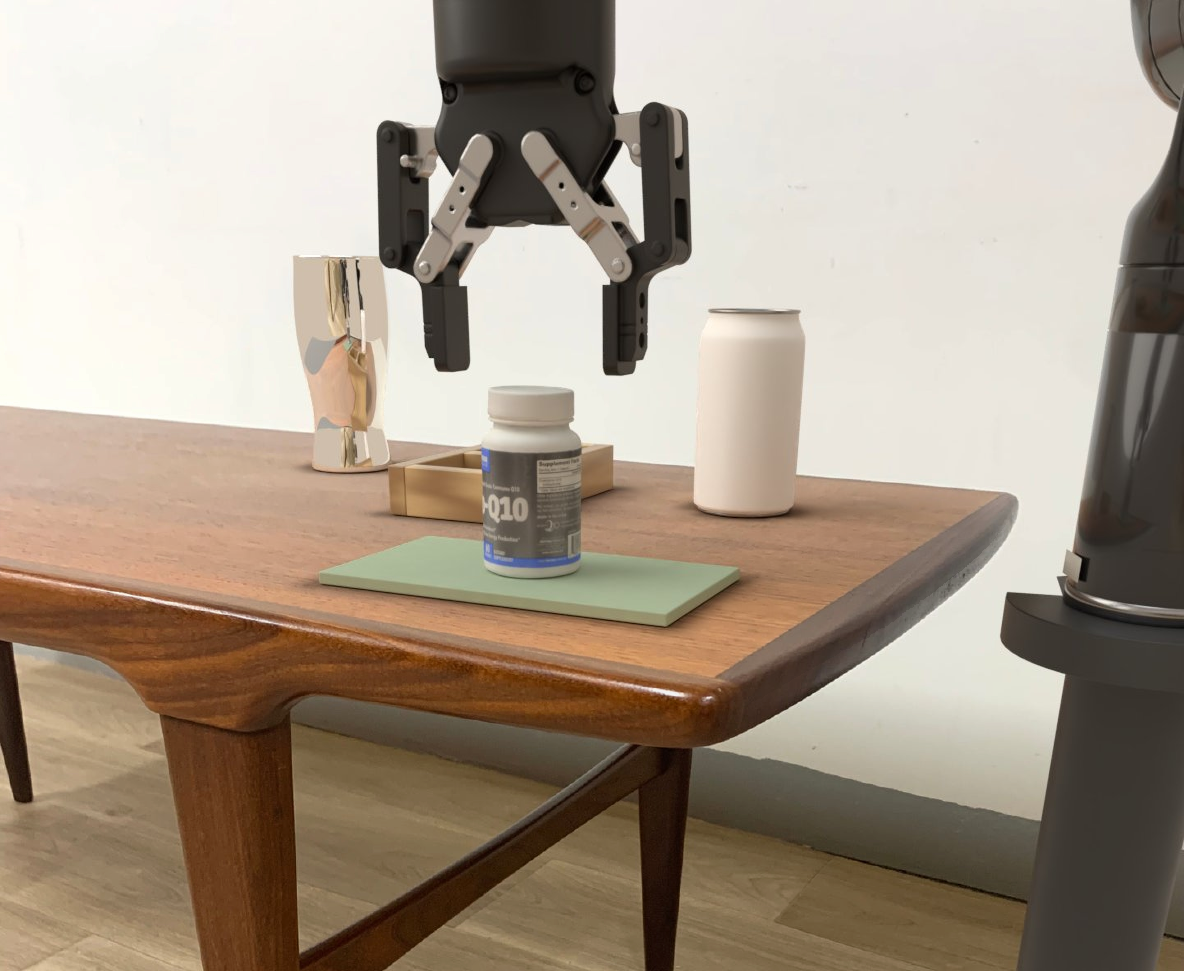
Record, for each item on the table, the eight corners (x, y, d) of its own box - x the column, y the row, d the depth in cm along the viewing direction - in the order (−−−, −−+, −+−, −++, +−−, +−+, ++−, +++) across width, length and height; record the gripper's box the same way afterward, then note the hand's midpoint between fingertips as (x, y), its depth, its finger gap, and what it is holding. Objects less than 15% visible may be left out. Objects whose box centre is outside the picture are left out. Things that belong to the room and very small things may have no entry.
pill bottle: (464, 567, 60) (458, 387, 56) (540, 554, 62) (539, 382, 59) (523, 585, 56) (521, 394, 53) (601, 570, 59) (602, 389, 56)
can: (683, 515, 77) (691, 310, 72) (703, 498, 82) (711, 307, 78) (786, 521, 75) (801, 311, 70) (799, 503, 81) (813, 309, 76)
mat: (739, 579, 60) (740, 567, 60) (666, 627, 52) (667, 613, 52) (428, 546, 67) (427, 535, 67) (318, 583, 59) (318, 571, 59)
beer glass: (344, 458, 99) (330, 256, 93) (415, 464, 96) (405, 257, 90) (287, 469, 93) (268, 255, 87) (360, 476, 90) (346, 255, 84)
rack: (613, 488, 86) (613, 444, 85) (508, 526, 73) (508, 474, 72) (508, 480, 89) (507, 437, 88) (390, 514, 76) (387, 465, 75)
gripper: (720, -47, 50) (708, 371, 56) (421, -13, 55) (441, 364, 62) (652, -93, 44) (647, 383, 50) (322, -50, 49) (355, 375, 55)
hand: (533, 373), depth 56 cm, fingers open, 8 cm apart
